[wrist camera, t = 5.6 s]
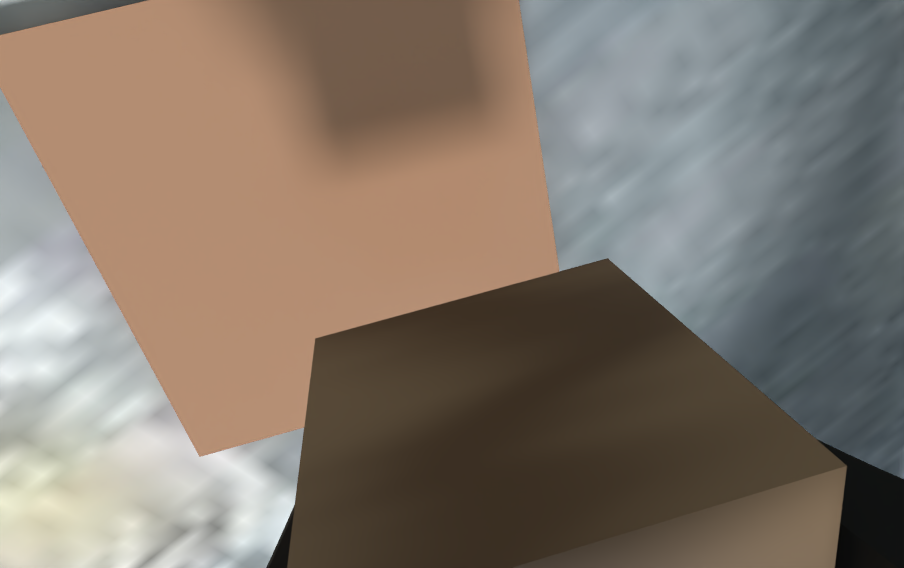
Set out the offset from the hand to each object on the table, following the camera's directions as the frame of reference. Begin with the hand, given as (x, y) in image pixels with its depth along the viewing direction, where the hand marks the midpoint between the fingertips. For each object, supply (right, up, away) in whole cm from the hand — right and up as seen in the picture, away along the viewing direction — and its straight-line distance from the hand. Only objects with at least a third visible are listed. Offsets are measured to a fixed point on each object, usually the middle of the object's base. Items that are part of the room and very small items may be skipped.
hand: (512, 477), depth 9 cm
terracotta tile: (-4, +5, +7) cm, 9 cm away
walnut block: (0, +1, +1) cm, 2 cm away
